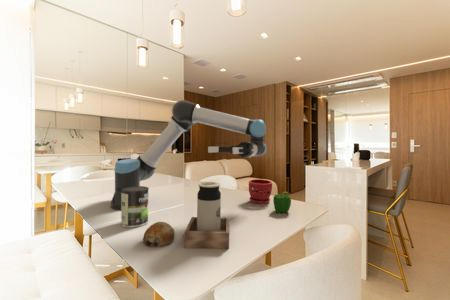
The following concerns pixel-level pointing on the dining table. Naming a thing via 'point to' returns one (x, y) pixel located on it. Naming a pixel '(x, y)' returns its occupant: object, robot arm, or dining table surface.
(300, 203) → the dining table surface
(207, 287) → the dining table surface
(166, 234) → the bread roll
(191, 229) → the walnut crate
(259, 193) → the plant pot
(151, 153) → the robot arm
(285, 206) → the bell pepper
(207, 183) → the travel mug
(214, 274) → the dining table surface
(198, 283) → the dining table surface
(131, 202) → the coffee can
